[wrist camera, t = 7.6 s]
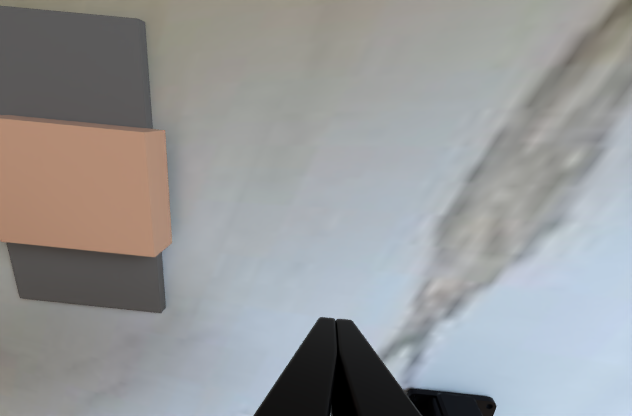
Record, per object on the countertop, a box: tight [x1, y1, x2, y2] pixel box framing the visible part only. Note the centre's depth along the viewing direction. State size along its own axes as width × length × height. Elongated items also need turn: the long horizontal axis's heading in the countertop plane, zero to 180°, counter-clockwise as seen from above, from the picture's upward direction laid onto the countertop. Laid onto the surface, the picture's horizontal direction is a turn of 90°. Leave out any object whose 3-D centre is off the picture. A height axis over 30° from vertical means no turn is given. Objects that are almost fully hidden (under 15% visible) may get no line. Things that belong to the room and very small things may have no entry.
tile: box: [0, 115, 172, 257], centre depth 17 cm, size 7×2×9 cm
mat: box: [0, 6, 166, 313], centre depth 19 cm, size 18×10×1 cm, turn 175°
